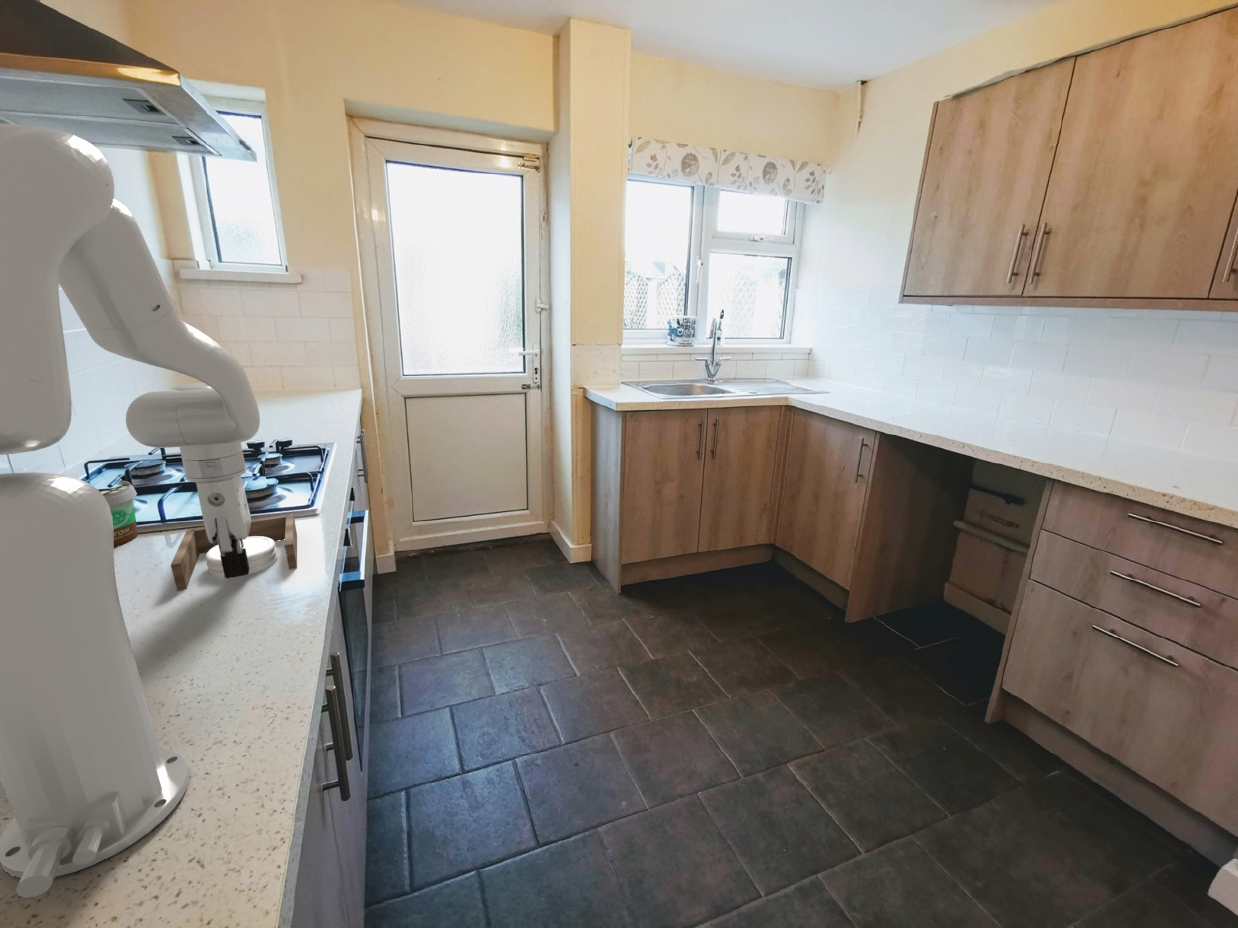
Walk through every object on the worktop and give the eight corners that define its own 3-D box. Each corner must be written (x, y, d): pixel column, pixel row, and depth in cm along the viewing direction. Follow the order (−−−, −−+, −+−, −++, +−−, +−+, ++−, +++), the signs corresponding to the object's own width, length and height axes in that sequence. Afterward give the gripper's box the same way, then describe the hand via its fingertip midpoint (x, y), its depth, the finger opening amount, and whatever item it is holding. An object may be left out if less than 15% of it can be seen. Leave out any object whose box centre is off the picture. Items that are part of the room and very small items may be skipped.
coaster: (279, 548, 103) (276, 531, 102) (276, 571, 94) (273, 552, 93) (213, 559, 98) (209, 541, 97) (204, 585, 90) (200, 565, 89)
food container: (95, 558, 98) (79, 504, 95) (67, 555, 99) (51, 501, 96) (163, 530, 109) (151, 482, 106) (137, 527, 111) (125, 479, 108)
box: (297, 568, 95) (292, 543, 94) (177, 590, 87) (170, 564, 86) (297, 535, 108) (293, 513, 106) (192, 552, 100) (186, 529, 99)
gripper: (240, 475, 80) (262, 589, 86) (248, 450, 93) (267, 551, 98) (175, 483, 77) (202, 601, 82) (192, 456, 89) (215, 560, 95)
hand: (237, 574), depth 90 cm, fingers closed
